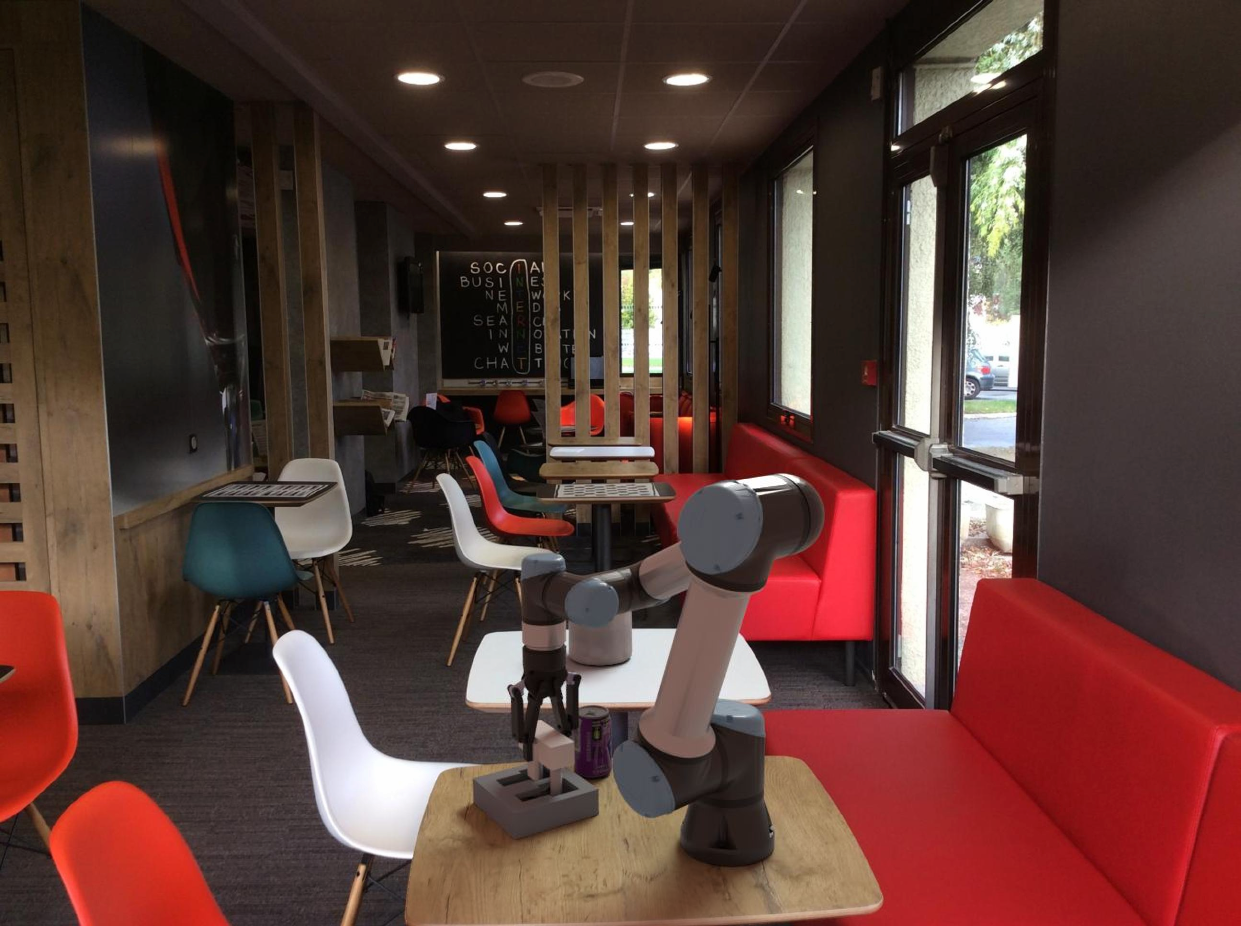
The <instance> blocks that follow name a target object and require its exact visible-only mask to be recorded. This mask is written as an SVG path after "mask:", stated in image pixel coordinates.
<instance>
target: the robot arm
mask: <svg viewBox="0 0 1241 926" xmlns="http://www.w3.org/2000/svg"><path fill="white" fill-rule="evenodd" d="M825 513H826V512H825V507H824V502H823V499H822V497H821V496H820V494H819V492H818V491H817V490H816V488H814V486H813V485H812V484H811V483H809V482H808V481H807V480H805V479H803V478H801V477H799V476H797V475H793V474H789V473H773V474H768V475H764V476H763V475H762V476H756V477H749V478H744V479H737V480H736V479H725V480H720V481H717V482H715V483H712V484H710V485H709V484H708V485H706V486H702V487H701V488H699V489H698V490H696V491H694V492H693V493H692V494H691V495H690V496H689V497H688V498H687V499H686V501H685V503H684V504H683V506H682V507H681V510H680V513H679V516H678V520H677V528H676V533H677V538H678V539H680V540H679V541H678V542H677V543H674V544H673V545H670V546H668V547H666V548H663V549H662V550H660V551H657V552H656V553H654V554H652V555H650V556H647V557H646V558H644V559H642V560H640V561H638V562H636V563H634V564H631V565H628V566H625V567H624V566H623V567H620V568H615V569H609V570H605V571H601V572H596V573H591V574H586V575H579V574H574V573H570V572H568V571H566V570H567V567H566V560H565V558H564V557H563V556H562V555H561V554H558V553H553V552H538V553H532V554H528V555H527V556H525V557H524V558H523V559H522V560H521V565H520V578H519V582H520V599H521V600H520V604H521V605H520V607H521V637H522V638H521V640H522V644H523V646H522V647H521V651H522V657H521V659H522V668H523V672H522V676H521V679H520V681H518V682H516V683H514V685H513V684H511V683H510V684H508V685H507V687H506V690H507V693H508V694H509V697H510V717H511V719H510V720H511V738H512V739H513V740H515V741H516V743H518V744H519V743H523V750H522V757H523V760H524V761H526V764H527V771H528V776H529V777H530V778H532V779H533V780H534V781H537V780H539V765H538V743H536V742H535V741H534V738H535V733H536V728H537V722H538V720H539V716H540V711H541V708H542V706H543V702H544V700H545V699H547V698H549V699H550V700H549V701H550V703H551V710H552V713H553V717H554V722H555V726H556V730H557V731H558V732H560V733H561V734H563V735H564V736H566V737H567V738H569V739H570V737H572V735H573V731H574V730H577V729H578V727H579V707H580V706H579V705H580V701H579V699H580V698H579V697H580V695H579V693H580V689H579V688H580V685H581V683H582V680H583V679H582V675H580V674H579V673H578V672H575V671H574V670H571V671H569V670H568V668H567V667H566V666H567V645H566V644H565V643H566V642H567V621H568V622H569V621H571V622H574V623H575V624H578V625H580V626H581V625H582V626H584V627H591V628H602V627H605V626H606V625H607V624H608V623H609V622H610V621H612V620H613V619H614V617H615V616H616V615H619V614H623V613H625V612H630V611H632V612H633V611H638V610H641V609H647V608H653V607H656V606H660V605H661V604H664V603H666V602H668V601H669V600H670V599H671V597H673V596H676V595H678V594H679V593H682V592H684V591H686V595H685V597H684V598H685V599H684V601H683V605H682V609H681V613H680V615H679V619H678V622H677V627H676V630H675V632H674V636H673V639H672V642H671V647H670V650H669V654H668V655H667V660H666V663H665V667H664V670H663V674H662V678H661V681H660V684H659V688H658V692H657V694H656V695H657V696H656V698H655V702H654V705H653V706H651V707H649V708H647V709H645V710H644V711H643V713H642V714H641V715H640V718H639V721H638V725H637V728H636V731H635V734H634V737H633V738H632V739H631V740H625V741H623V742H622V743H621V744H619V745H617V747H616V748H615V750H614V752H613V755H612V774H613V778H614V782H615V783H616V785H617V789H618V792H619V793H620V796H621V797H622V798H623V800H624V801H625V803H626V804H627V805H628V806H629V807H630V809H632V811H634V812H635V813H636V814H638V815H639V816H641V817H644V818H647V819H656V818H659V817H662V816H667V815H671V814H672V813H674V812H675V811H678V810H680V809H682V808H684V807H686V806H687V809H686V812H685V816H684V818H683V820H682V822H681V824H680V829H679V831H680V833H679V835H680V840H679V841H680V846H681V848H682V849H683V851H684V852H685V853H687V855H689V856H690V857H692V858H694V859H696V860H699V861H701V862H704V863H708V864H710V865H715V866H725V867H726V866H727V867H737V866H747V865H750V864H751V865H752V864H754V863H758V862H761V861H762V860H765V859H766V858H767V857H770V855H771V854H772V853H773V851H774V849H775V841H776V840H775V834H776V833H775V829H774V825H773V823H772V822H773V821H772V818H771V816H770V813H769V809H768V806H767V803H766V800H765V767H766V766H765V764H766V763H765V762H766V760H765V758H766V755H765V754H766V737H767V734H766V731H765V718H764V715H763V713H762V712H761V711H760V709H758V707H755V706H753V705H751V704H749V703H746V702H743V701H739V700H735V699H733V700H732V699H728V698H727V699H726V698H719V697H720V694H721V691H722V688H723V685H724V682H725V678H726V674H727V672H728V668H729V665H730V662H731V659H732V655H733V653H734V650H735V647H736V642H737V641H738V640H737V639H738V637H739V633H740V631H741V627H742V625H743V620H744V617H745V614H746V611H747V609H748V606H749V601H750V598H751V596H752V595H753V594H757V593H759V592H761V591H762V590H764V589H765V587H766V584H767V582H768V579H769V576H770V573H771V569H772V566H773V563H774V562H775V561H776V560H777V559H778V560H779V559H782V558H785V557H790V556H794V555H796V554H799V553H801V552H804V551H805V550H808V548H810V547H811V546H812V545H813V544H814V543H815V542H816V541H817V540H818V538H819V537H820V535H821V532H822V531H823V528H824V524H825V516H826V515H825ZM564 684H565V704H564V696H563V695H564V694H563V690H562V688H563V685H564ZM524 689H526V690H527V696H526V699H527V703H526V710H525V706H524V698H523V696H524V695H525V692H524V691H525V690H524ZM524 711H525V712H524ZM563 773H565V767H563V768H562V774H563Z"/></svg>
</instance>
